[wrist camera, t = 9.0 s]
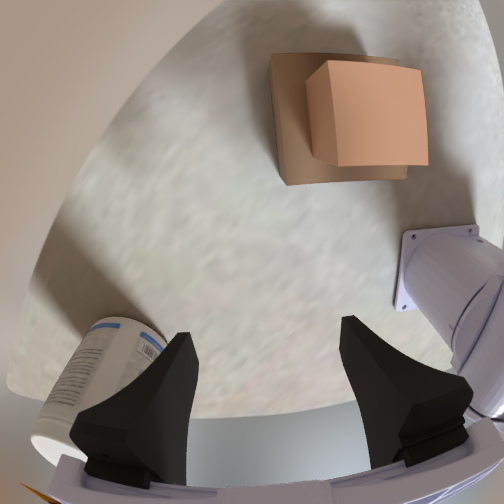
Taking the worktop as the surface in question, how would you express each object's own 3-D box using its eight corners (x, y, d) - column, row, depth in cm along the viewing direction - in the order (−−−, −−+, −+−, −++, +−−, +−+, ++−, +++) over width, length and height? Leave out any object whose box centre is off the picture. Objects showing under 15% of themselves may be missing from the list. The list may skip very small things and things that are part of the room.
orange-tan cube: (377, 83, 14) (420, 70, 9) (384, 155, 16) (428, 165, 11) (305, 81, 14) (327, 60, 9) (313, 157, 16) (338, 166, 11)
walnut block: (373, 70, 17) (397, 59, 13) (382, 170, 20) (407, 179, 16) (267, 69, 17) (272, 53, 13) (279, 176, 20) (286, 185, 16)
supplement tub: (94, 364, 28) (45, 465, 14) (89, 299, 24) (8, 412, 11) (173, 389, 29) (146, 505, 15) (182, 328, 25) (142, 473, 12)
